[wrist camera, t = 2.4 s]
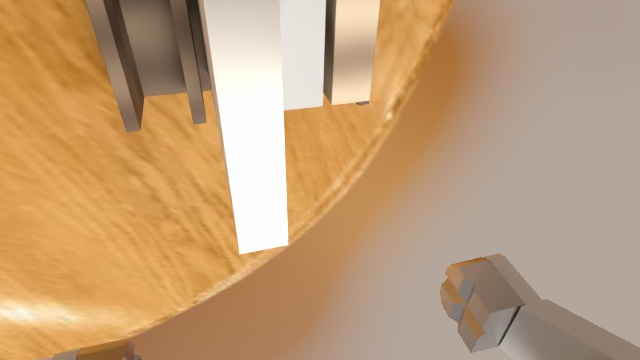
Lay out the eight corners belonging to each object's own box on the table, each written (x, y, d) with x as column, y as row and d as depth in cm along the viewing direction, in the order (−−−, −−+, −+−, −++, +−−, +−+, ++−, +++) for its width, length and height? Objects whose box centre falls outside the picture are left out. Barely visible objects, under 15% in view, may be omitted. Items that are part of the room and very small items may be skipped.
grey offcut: (251, -69, 31) (277, -46, 23) (289, -69, 31) (327, -48, 24) (260, 59, 37) (282, 110, 29) (292, 56, 38) (322, 106, 30)
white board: (184, -85, 29) (201, -13, 12) (218, -85, 30) (278, -16, 13) (208, 74, 36) (239, 254, 20) (235, 72, 37) (288, 244, 20)
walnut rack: (75, -113, 27) (51, -107, 22) (354, -109, 32) (391, -103, 27) (133, 92, 36) (126, 132, 31) (343, 72, 41) (368, 104, 36)
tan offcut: (298, -70, 32) (338, -48, 24) (335, -70, 32) (385, -49, 25) (299, 56, 38) (331, 104, 30) (330, 53, 38) (369, 100, 31)
